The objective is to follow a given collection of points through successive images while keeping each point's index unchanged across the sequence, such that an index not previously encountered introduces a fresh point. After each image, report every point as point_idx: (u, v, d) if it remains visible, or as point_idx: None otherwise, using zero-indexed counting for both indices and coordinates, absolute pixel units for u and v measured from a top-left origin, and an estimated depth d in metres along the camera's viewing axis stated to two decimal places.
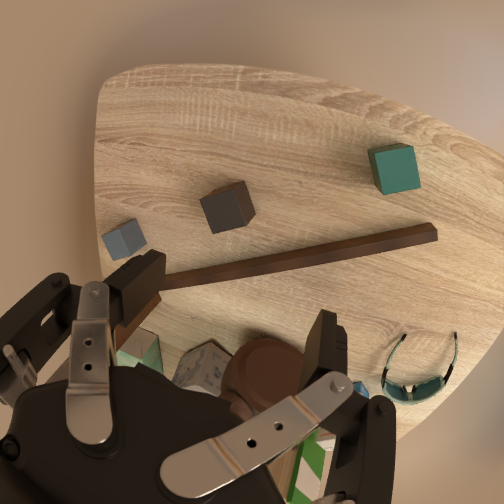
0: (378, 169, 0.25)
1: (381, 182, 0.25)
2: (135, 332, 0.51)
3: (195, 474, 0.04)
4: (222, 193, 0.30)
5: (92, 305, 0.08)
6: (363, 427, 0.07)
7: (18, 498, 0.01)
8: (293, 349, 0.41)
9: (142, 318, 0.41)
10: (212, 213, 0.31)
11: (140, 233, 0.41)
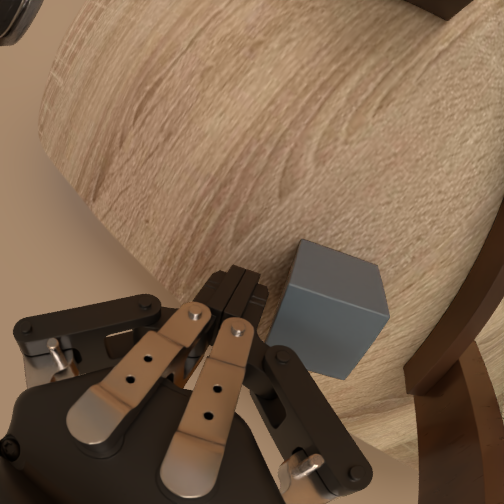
0: None
1: None
2: None
3: (193, 470, 0.04)
4: None
5: (182, 325, 0.09)
6: (275, 384, 0.08)
7: (18, 498, 0.01)
8: None
9: (496, 407, 0.08)
10: None
11: (345, 256, 0.14)
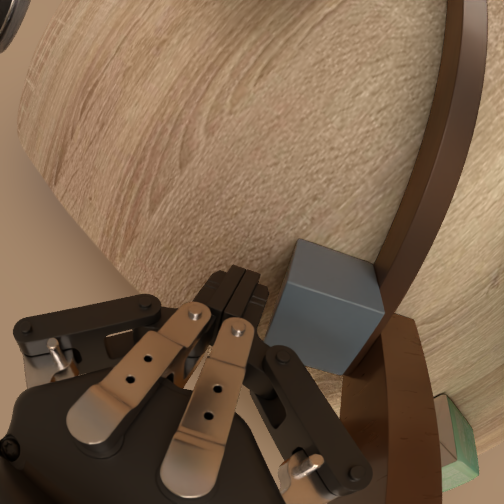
0: None
1: None
2: None
3: (193, 470, 0.04)
4: None
5: (182, 325, 0.09)
6: (275, 384, 0.08)
7: (18, 498, 0.01)
8: None
9: (427, 395, 0.10)
10: None
11: (341, 255, 0.14)
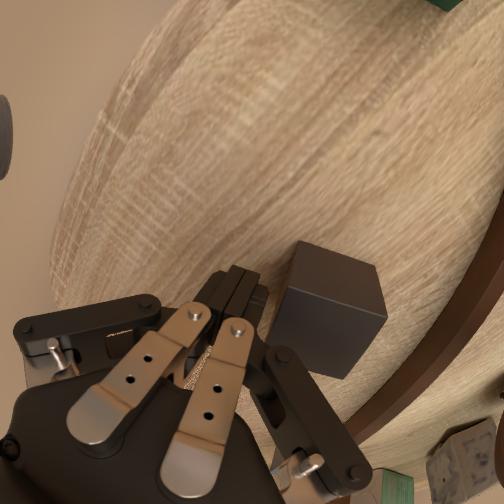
0: None
1: None
2: None
3: (193, 470, 0.04)
4: (280, 313, 0.11)
5: (182, 325, 0.09)
6: (275, 384, 0.08)
7: (18, 498, 0.01)
8: None
9: None
10: (306, 356, 0.12)
11: None
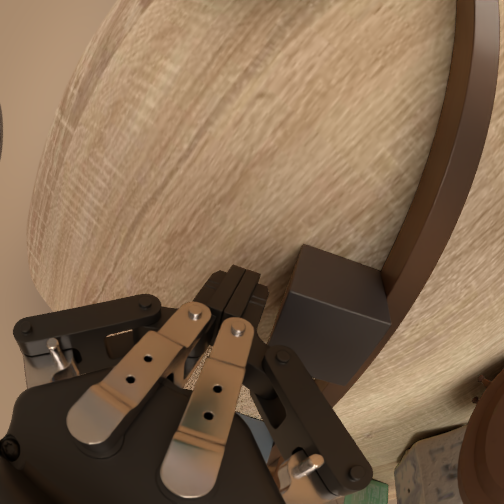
0: None
1: None
2: None
3: (193, 470, 0.04)
4: (282, 318, 0.11)
5: (182, 325, 0.09)
6: (275, 384, 0.08)
7: (18, 498, 0.01)
8: None
9: None
10: (307, 362, 0.12)
11: (258, 423, 0.23)
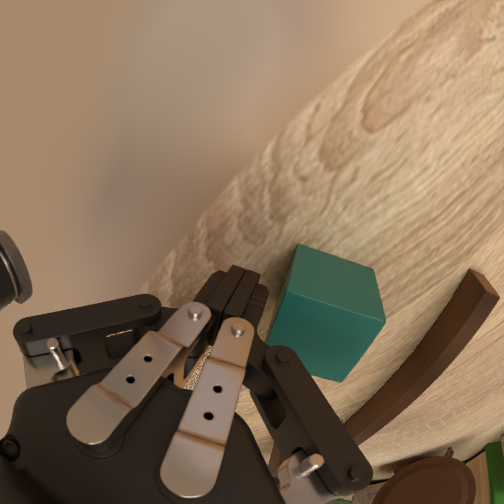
0: None
1: (318, 375, 0.12)
2: None
3: (193, 470, 0.04)
4: (274, 469, 0.20)
5: (182, 325, 0.09)
6: (275, 384, 0.08)
7: (18, 498, 0.01)
8: (432, 460, 0.20)
9: None
10: None
11: None
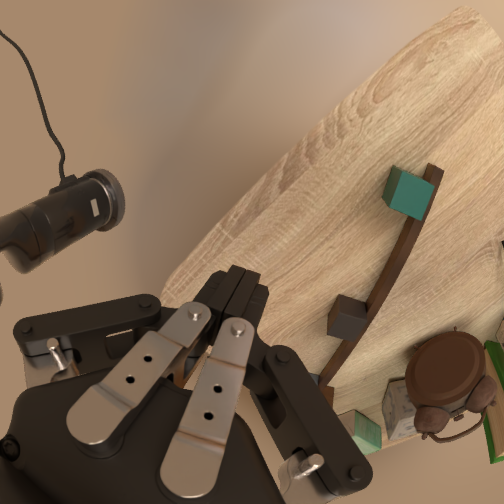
0: (402, 211, 0.27)
1: (412, 216, 0.27)
2: None
3: (193, 470, 0.04)
4: (335, 320, 0.36)
5: (182, 325, 0.09)
6: (275, 384, 0.08)
7: (18, 498, 0.01)
8: (443, 335, 0.35)
9: None
10: (342, 333, 0.37)
11: None
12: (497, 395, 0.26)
